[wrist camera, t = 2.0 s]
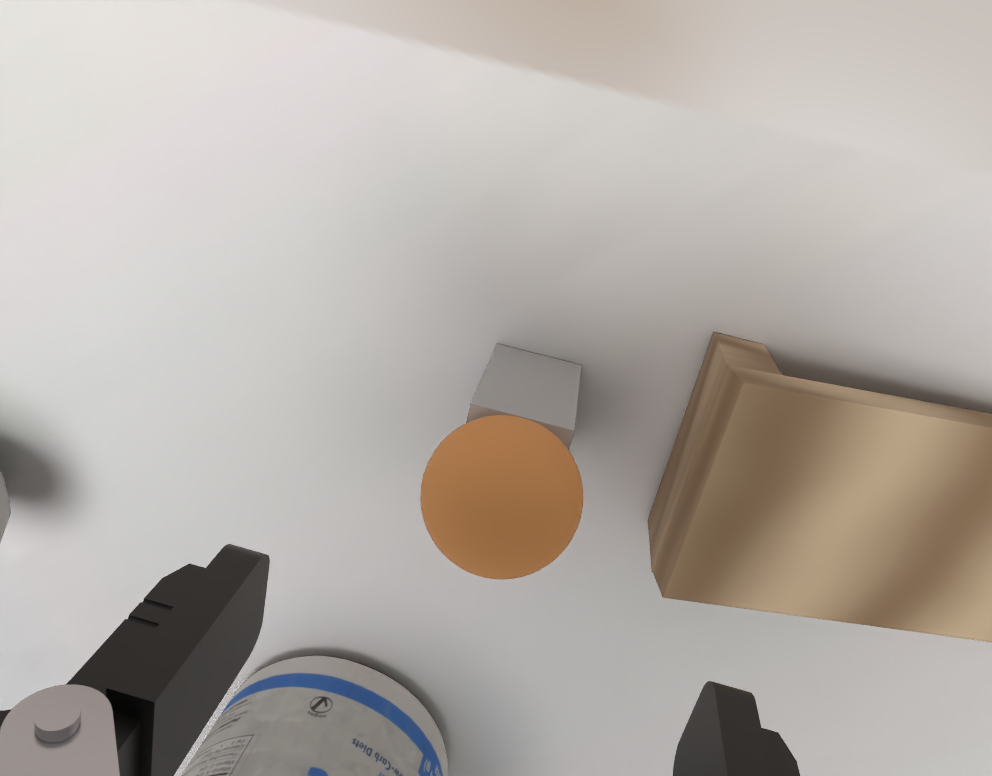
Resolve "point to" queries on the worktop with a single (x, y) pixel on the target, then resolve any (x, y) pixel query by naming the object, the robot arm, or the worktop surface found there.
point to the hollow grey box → (529, 390)
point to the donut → (3, 506)
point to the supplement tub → (321, 725)
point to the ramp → (825, 501)
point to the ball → (501, 497)
